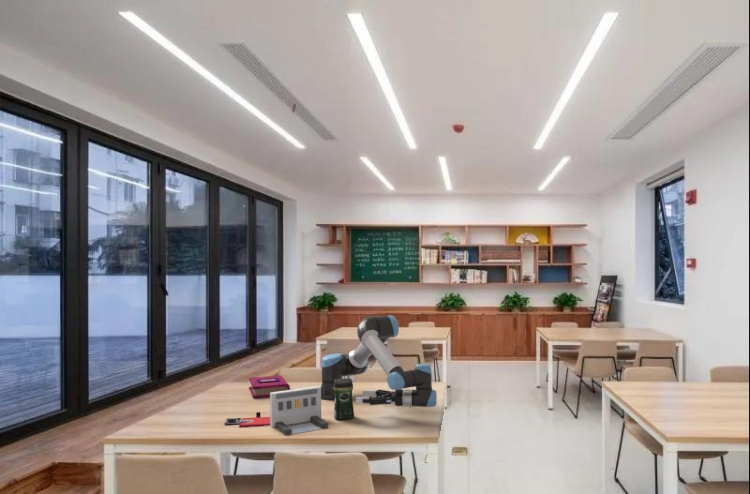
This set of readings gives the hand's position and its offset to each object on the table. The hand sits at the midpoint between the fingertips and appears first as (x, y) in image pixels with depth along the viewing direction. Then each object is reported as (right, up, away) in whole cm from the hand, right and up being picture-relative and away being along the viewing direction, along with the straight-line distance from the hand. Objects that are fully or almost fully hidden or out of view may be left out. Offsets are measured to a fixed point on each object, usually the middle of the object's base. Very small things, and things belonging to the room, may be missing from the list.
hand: (359, 396), depth 236 cm
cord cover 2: (-18, -10, -8) cm, 23 cm away
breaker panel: (-29, -11, -4) cm, 32 cm away
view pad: (-25, -10, -14) cm, 30 cm away
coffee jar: (-7, -11, +1) cm, 13 cm away
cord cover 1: (-33, -10, -16) cm, 38 cm away
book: (-56, -16, +60) cm, 84 cm away
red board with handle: (-48, -12, -2) cm, 50 cm away
